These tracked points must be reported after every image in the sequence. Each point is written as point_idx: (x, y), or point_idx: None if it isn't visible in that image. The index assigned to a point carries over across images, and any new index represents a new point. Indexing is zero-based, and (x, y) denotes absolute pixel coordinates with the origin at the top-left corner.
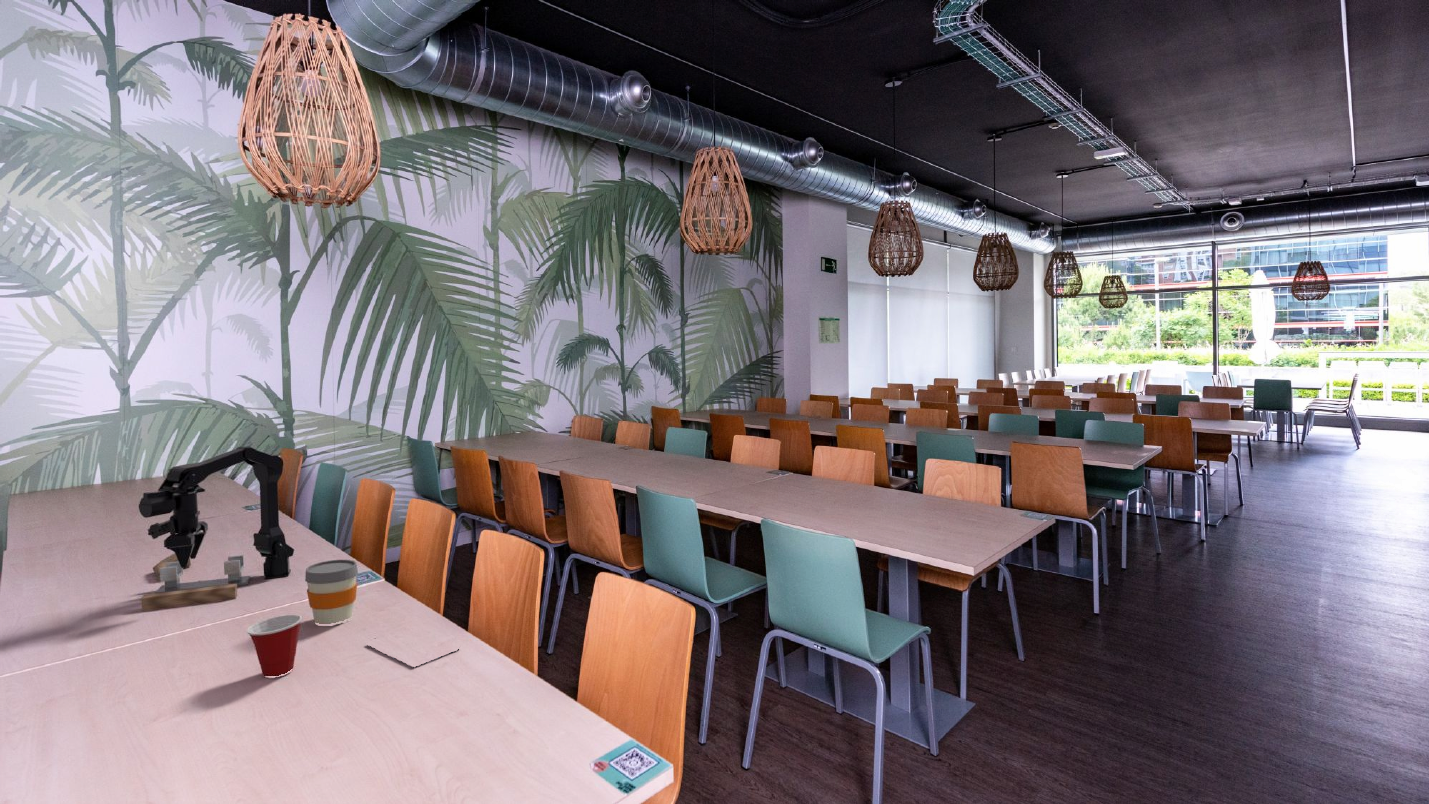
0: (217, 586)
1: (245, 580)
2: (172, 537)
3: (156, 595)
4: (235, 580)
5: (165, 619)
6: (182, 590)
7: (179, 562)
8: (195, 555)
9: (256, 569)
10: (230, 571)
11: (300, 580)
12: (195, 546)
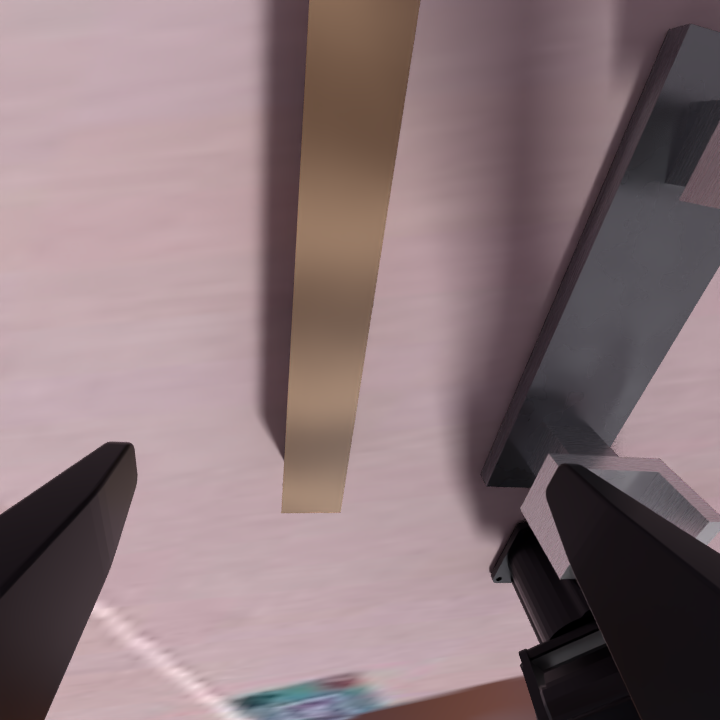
0: (338, 443)
1: (517, 482)
2: None
3: (339, 65)
4: (537, 454)
5: (13, 164)
6: (372, 264)
7: (19, 507)
8: (561, 531)
9: (700, 481)
10: (545, 489)
11: (408, 607)
12: (663, 669)
